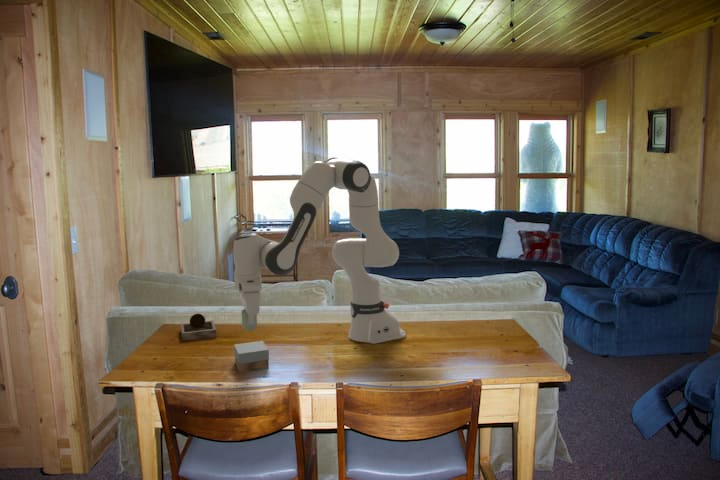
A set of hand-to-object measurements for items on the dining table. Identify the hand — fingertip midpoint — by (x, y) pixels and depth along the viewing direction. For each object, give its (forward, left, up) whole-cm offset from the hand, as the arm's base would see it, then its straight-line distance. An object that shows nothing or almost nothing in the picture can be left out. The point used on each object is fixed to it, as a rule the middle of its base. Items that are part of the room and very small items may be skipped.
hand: (249, 321), depth 195 cm
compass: (+14, -44, -16) cm, 49 cm away
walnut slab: (0, 0, -16) cm, 16 cm away
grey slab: (0, 0, -13) cm, 13 cm away
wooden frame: (+15, -42, -16) cm, 48 cm away
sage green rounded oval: (0, 0, -2) cm, 2 cm away
